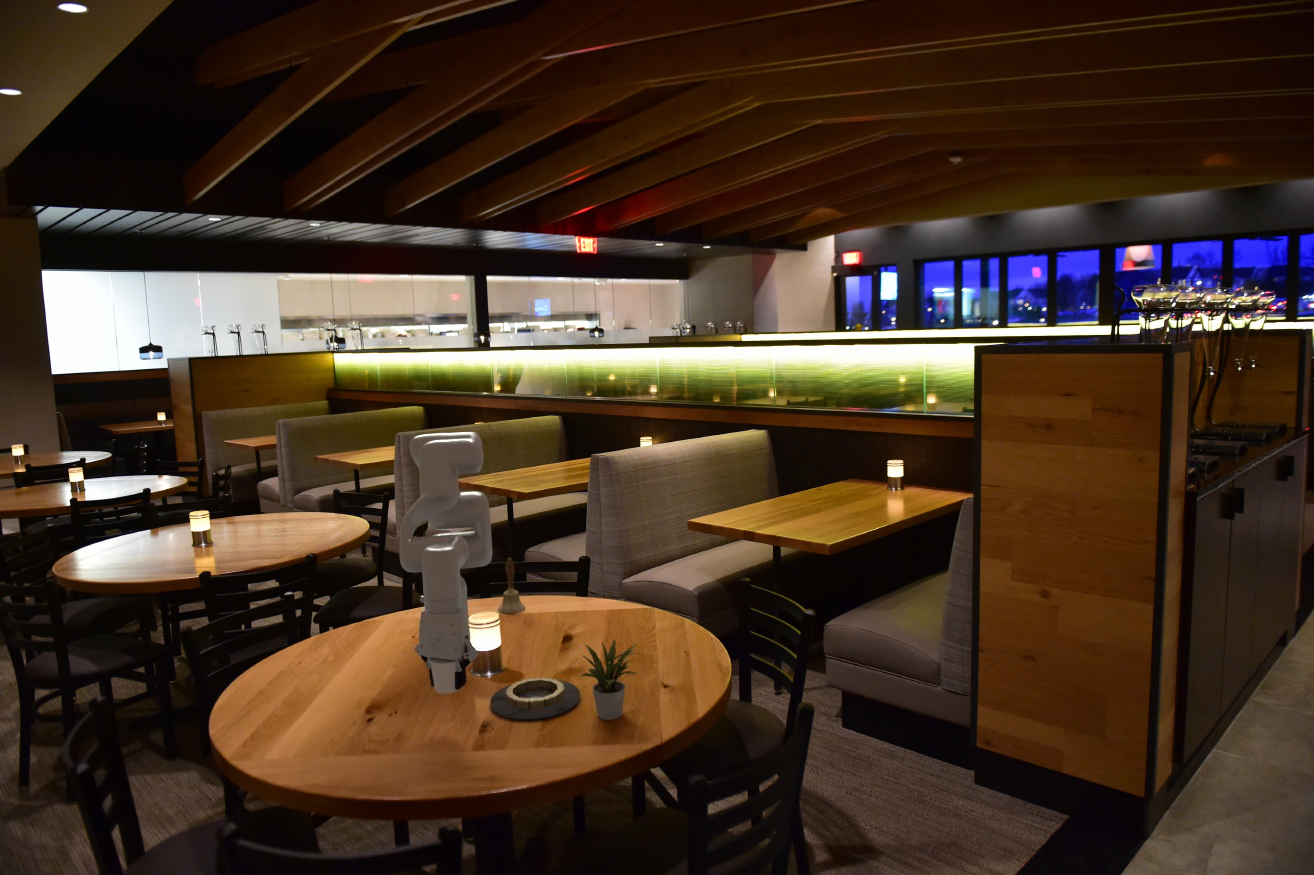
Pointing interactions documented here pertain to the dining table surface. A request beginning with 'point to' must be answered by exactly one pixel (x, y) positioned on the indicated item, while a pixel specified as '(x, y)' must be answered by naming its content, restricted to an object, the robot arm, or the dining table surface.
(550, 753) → the dining table surface
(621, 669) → the house plant
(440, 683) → the gray tapered cylinder
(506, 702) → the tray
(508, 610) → the hand bell
